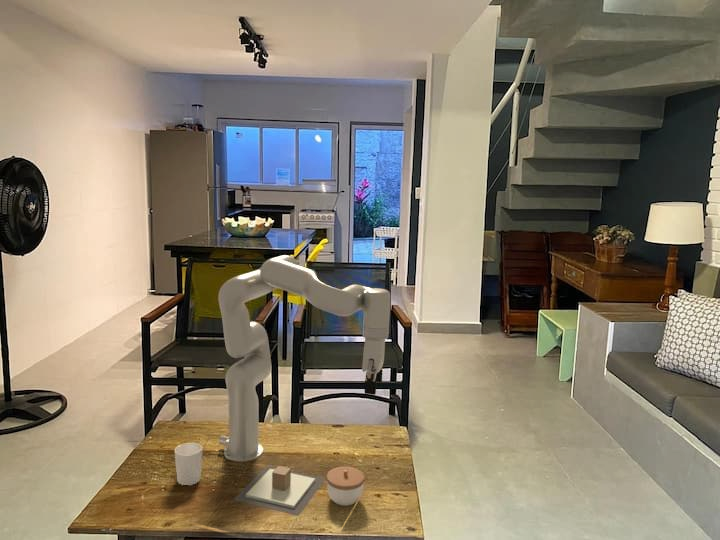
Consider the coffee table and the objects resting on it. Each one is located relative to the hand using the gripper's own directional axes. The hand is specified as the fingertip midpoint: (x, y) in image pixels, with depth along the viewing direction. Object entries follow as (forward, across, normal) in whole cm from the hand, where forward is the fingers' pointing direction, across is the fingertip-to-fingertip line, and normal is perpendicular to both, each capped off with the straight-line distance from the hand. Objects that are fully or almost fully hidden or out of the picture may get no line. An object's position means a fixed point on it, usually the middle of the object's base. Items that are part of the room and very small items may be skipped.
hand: (373, 387), depth 166 cm
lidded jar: (+31, +12, -5) cm, 33 cm away
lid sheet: (+30, +12, -24) cm, 40 cm away
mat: (+30, +12, -24) cm, 40 cm away
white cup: (+31, +14, -52) cm, 62 cm away
